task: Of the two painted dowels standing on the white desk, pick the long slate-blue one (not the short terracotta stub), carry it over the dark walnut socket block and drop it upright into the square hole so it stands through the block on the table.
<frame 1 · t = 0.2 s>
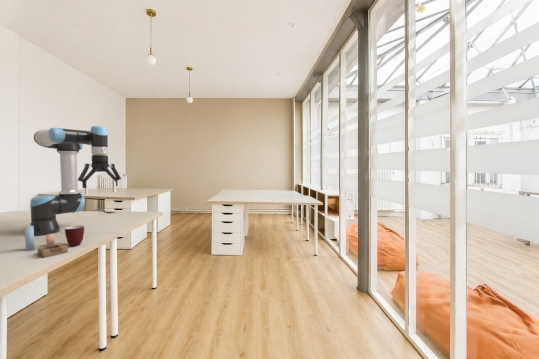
hand: (100, 193, 139), 28 cm above the table, fingers open, 13 cm apart
short peg: (50, 245, 133), on the table
mug: (75, 245, 135), on the table
long peg: (30, 249, 127), on the table
socket block: (52, 253, 122), on the table
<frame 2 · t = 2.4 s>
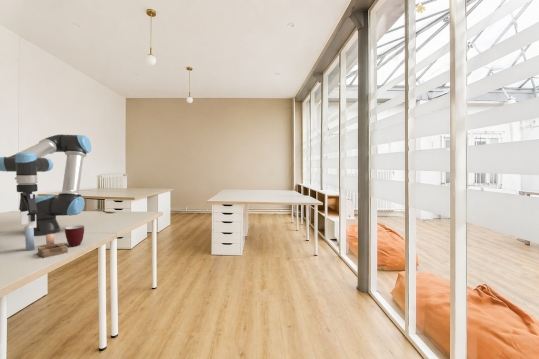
hand: (28, 226, 126), 12 cm above the table, fingers open, 13 cm apart
nothing on the table moved.
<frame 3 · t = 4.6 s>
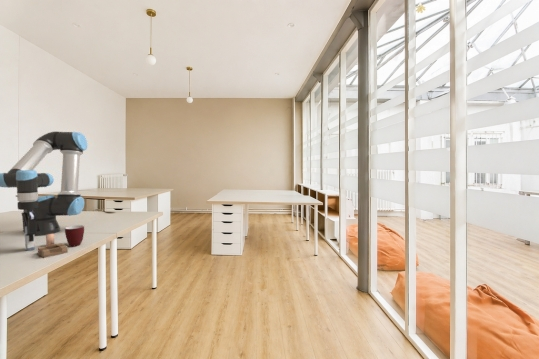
hand: (30, 246, 127), 2 cm above the table, fingers closed on long peg, 3 cm apart
long peg: (30, 249, 127), on the table, touching gripper
everything else where it was.
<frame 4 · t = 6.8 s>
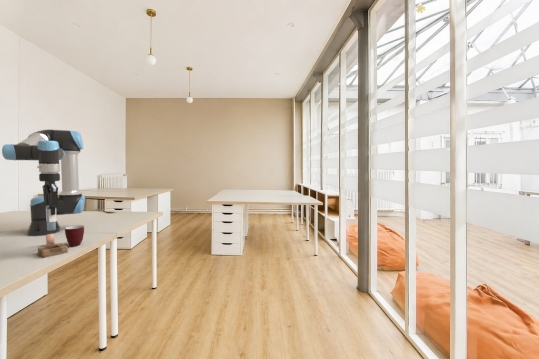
hand: (51, 220, 121), 16 cm above the table, fingers closed on long peg, 3 cm apart
long peg: (51, 229, 122), point 12 cm above the table, touching gripper
everything else where it was.
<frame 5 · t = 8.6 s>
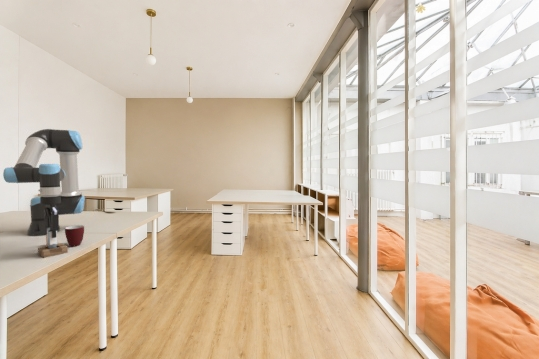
hand: (52, 243, 122), 5 cm above the table, fingers closed on long peg, 3 cm apart
long peg: (52, 252, 122), point 1 cm above the table, touching gripper
everything else where it was.
when the fingers open (4 cm above the table, at t = 9.4 s): long peg stays where it is, resting in socket block.
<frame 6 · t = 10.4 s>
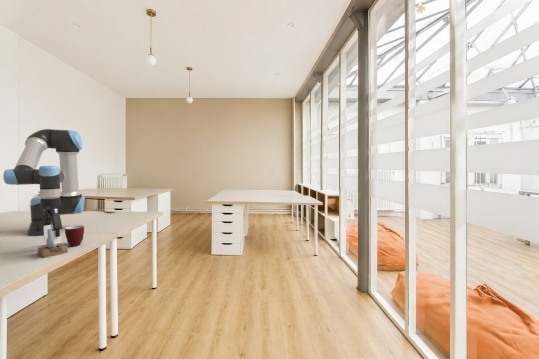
hand: (52, 240, 122), 6 cm above the table, fingers open, 13 cm apart
long peg: (52, 253, 122), resting in socket block
everything else where it was.
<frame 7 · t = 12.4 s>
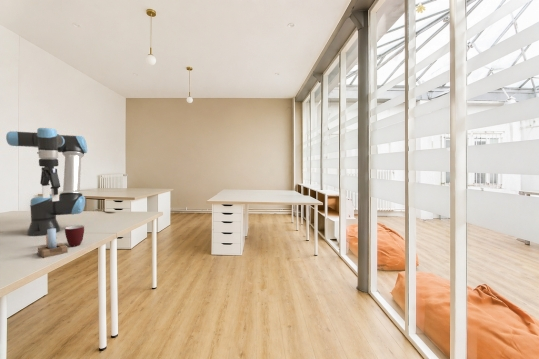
hand: (50, 199, 130), 25 cm above the table, fingers open, 13 cm apart
nothing on the table moved.
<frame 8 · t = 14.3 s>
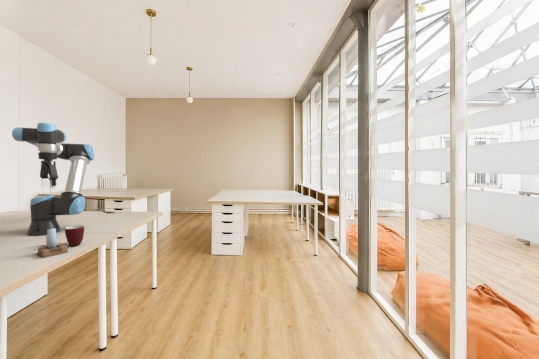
hand: (49, 191, 136), 29 cm above the table, fingers open, 13 cm apart
nothing on the table moved.
at the end: long peg 0.1 cm off-centre on the socket block, point 0.0 cm above the socket block's base; long peg tilted 0°; the gripper is holding nothing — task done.
